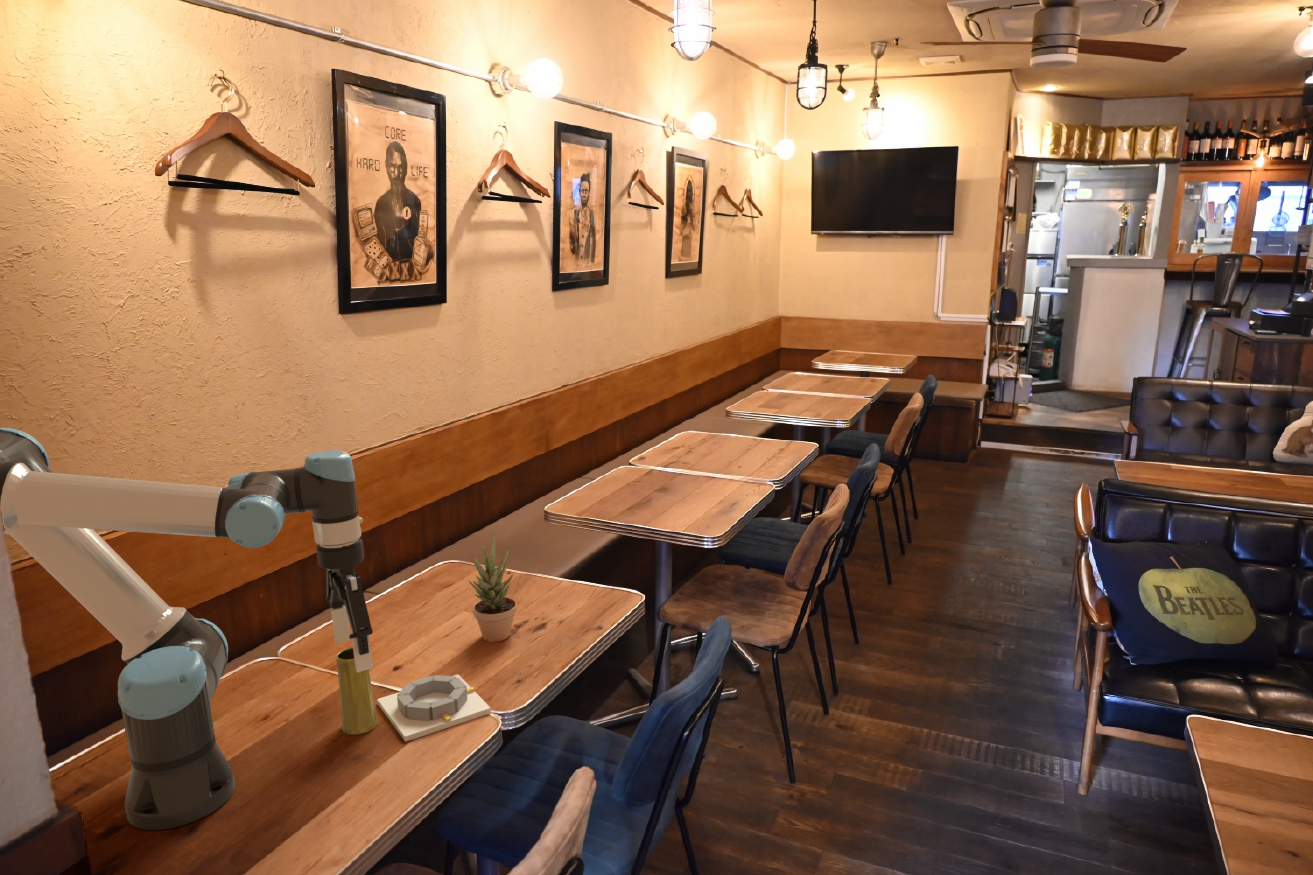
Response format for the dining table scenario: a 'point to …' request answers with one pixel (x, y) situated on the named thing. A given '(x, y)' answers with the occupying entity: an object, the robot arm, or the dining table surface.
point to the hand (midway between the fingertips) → (353, 655)
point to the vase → (355, 695)
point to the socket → (432, 705)
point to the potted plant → (493, 598)
